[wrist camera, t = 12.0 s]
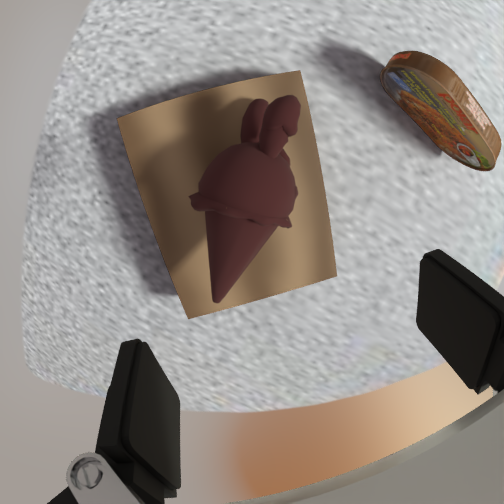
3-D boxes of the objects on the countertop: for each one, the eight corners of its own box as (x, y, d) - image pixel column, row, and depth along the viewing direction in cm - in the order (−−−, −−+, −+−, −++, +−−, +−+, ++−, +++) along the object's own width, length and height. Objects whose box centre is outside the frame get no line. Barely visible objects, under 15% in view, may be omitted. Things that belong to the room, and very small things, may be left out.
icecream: (281, 329, 22) (351, 116, 18) (177, 327, 18) (247, 68, 14) (242, 285, 28) (294, 114, 24) (158, 277, 24) (208, 84, 20)
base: (286, 76, 24) (300, 70, 21) (322, 257, 32) (337, 276, 28) (128, 118, 24) (116, 118, 20) (189, 296, 31) (188, 319, 28)
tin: (363, 73, 25) (416, 64, 17) (378, 51, 24) (432, 39, 17) (452, 165, 30) (504, 183, 22) (463, 144, 29) (516, 159, 22)
